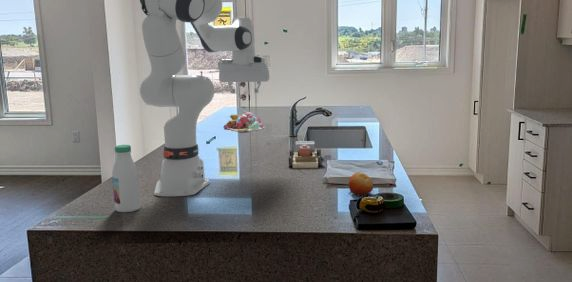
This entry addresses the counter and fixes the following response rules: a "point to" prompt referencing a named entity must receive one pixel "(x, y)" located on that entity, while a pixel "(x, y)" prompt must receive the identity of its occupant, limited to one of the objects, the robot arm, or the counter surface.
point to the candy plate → (244, 122)
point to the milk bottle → (125, 181)
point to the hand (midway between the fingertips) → (244, 93)
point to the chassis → (305, 161)
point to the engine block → (304, 150)
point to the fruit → (360, 184)
